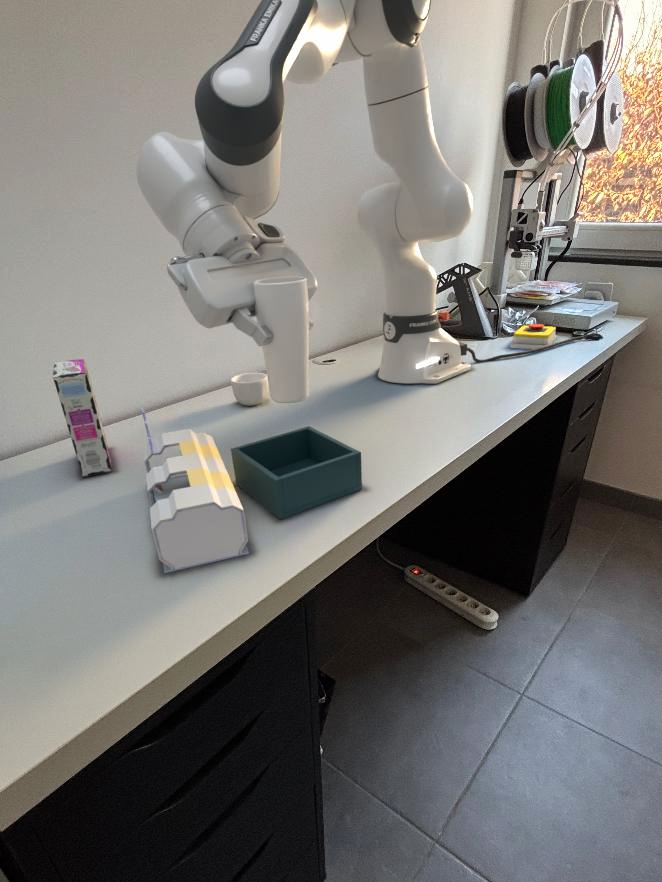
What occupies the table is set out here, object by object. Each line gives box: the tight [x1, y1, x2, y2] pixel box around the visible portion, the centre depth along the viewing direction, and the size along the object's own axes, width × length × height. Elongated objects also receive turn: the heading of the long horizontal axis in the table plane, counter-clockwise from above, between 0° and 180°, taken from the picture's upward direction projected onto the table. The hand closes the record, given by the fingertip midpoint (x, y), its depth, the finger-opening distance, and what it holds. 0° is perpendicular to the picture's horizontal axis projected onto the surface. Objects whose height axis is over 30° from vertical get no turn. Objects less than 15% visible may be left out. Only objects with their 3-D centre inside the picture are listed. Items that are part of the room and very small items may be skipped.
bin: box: [230, 425, 363, 521], centre depth 77 cm, size 14×14×6 cm
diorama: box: [141, 407, 250, 574], centre depth 69 cm, size 25×10×13 cm, turn 18°
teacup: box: [230, 372, 269, 407], centre depth 113 cm, size 10×8×5 cm
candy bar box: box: [52, 358, 113, 478], centre depth 86 cm, size 11×5×16 cm, turn 23°
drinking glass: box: [253, 277, 310, 404], centre depth 69 cm, size 7×7×15 cm
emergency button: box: [509, 323, 557, 350], centre depth 144 cm, size 9×4×15 cm
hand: (288, 335), depth 68 cm, fingers closed on drinking glass, 6 cm apart
